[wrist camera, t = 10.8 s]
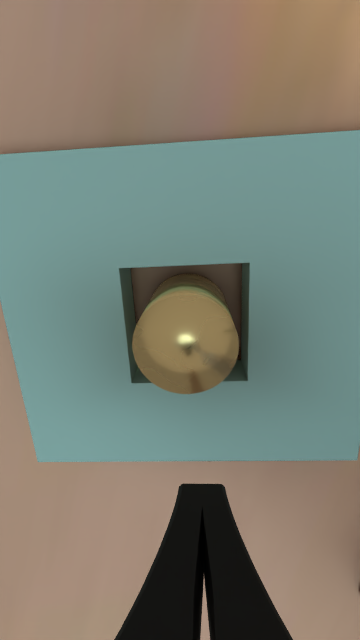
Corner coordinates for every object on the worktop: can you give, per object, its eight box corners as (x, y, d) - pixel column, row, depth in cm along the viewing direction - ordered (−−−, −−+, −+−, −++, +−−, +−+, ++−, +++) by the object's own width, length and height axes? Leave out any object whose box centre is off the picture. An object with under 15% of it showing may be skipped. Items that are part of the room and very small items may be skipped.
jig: (373, 141, 15) (407, 126, 12) (337, 430, 20) (357, 460, 17) (1, 166, 16) (-34, 156, 13) (56, 433, 21) (38, 461, 18)
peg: (227, 272, 17) (239, 293, 12) (227, 347, 18) (238, 393, 13) (145, 275, 17) (126, 297, 12) (152, 349, 18) (137, 395, 14)
